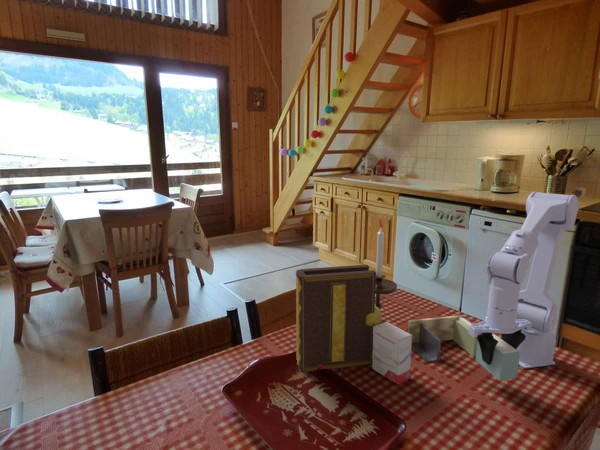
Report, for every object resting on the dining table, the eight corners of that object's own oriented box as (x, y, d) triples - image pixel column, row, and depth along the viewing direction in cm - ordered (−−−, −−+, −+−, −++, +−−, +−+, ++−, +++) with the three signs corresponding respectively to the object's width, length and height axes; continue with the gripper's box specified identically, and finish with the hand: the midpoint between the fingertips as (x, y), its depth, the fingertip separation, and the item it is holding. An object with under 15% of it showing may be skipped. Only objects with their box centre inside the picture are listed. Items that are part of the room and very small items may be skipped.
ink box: (411, 379, 90) (414, 334, 87) (396, 386, 87) (399, 340, 85) (384, 362, 97) (386, 320, 95) (370, 368, 94) (372, 325, 92)
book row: (462, 338, 109) (464, 316, 107) (483, 355, 100) (486, 331, 98) (452, 339, 108) (454, 317, 107) (473, 356, 99) (475, 332, 98)
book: (300, 375, 91) (300, 279, 86) (294, 356, 99) (293, 268, 94) (384, 364, 96) (388, 273, 91) (371, 347, 104) (375, 262, 99)
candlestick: (367, 338, 109) (372, 222, 102) (353, 321, 119) (357, 215, 112) (401, 334, 111) (407, 220, 104) (384, 318, 122) (390, 213, 114)
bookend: (421, 343, 106) (422, 323, 105) (439, 361, 97) (441, 340, 96) (409, 344, 106) (411, 325, 104) (426, 362, 97) (428, 341, 95)
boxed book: (491, 358, 90) (494, 333, 88) (516, 378, 82) (520, 351, 81) (475, 360, 89) (478, 335, 87) (499, 380, 81) (502, 353, 80)
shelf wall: (463, 336, 110) (465, 314, 108) (464, 338, 109) (466, 316, 108) (406, 342, 106) (408, 320, 105) (408, 344, 106) (409, 321, 104)
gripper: (517, 295, 87) (510, 348, 90) (462, 301, 85) (457, 354, 87) (542, 308, 81) (534, 364, 83) (482, 314, 78) (476, 372, 81)
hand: (496, 360), depth 85 cm, fingers closed on boxed book, 4 cm apart
